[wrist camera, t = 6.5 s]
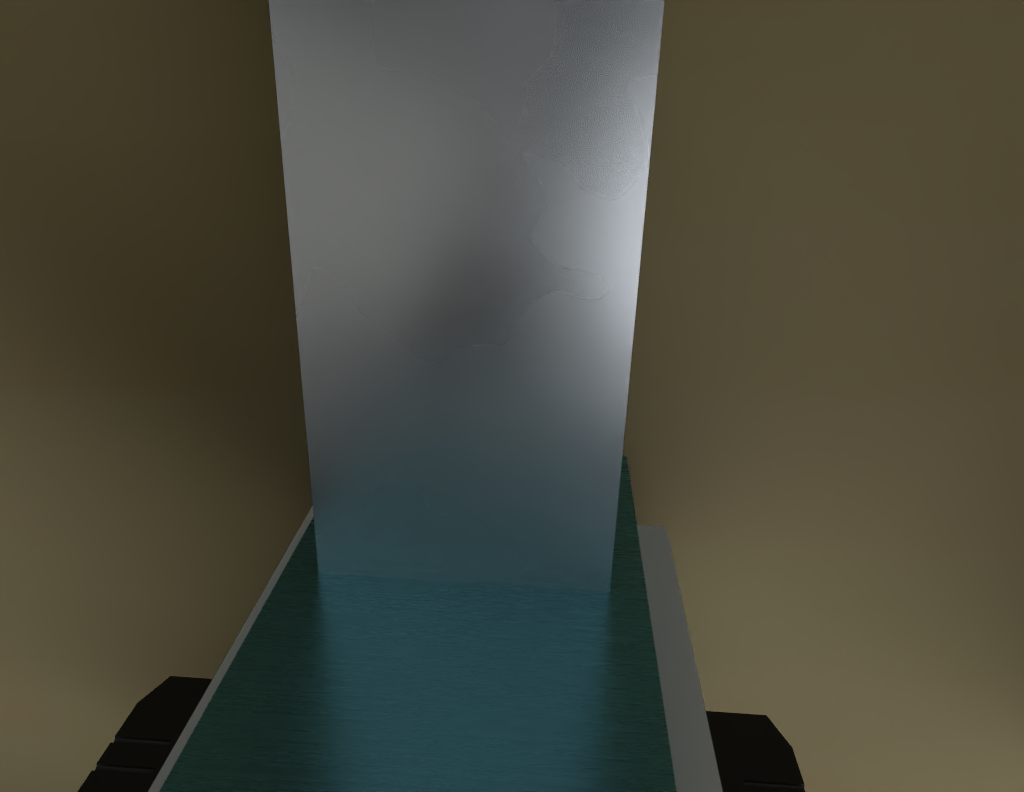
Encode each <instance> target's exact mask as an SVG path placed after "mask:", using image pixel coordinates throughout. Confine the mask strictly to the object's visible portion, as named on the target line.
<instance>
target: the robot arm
mask: <svg viewBox="0 0 1024 792" xmlns="http://www.w3.org/2000/svg"><path fill="white" fill-rule="evenodd" d="M313 516H314V515H313V506H312V507H311V509H310V511H309V513H308V514H307V516H306V518H305V520H304V521H303V523H302V525H301V527H300V528H299V530H298V532H297V533H296V535H295V537H294V539H293V540H292V542H291V544H290V546H289V547H288V549H287V551H286V553H285V554H284V556H283V558H282V560H281V561H280V563H279V565H278V566H277V568H276V570H275V572H274V573H273V575H272V577H271V579H270V580H269V582H268V584H267V586H266V587H265V589H264V591H263V593H262V594H261V596H260V598H259V600H258V601H257V603H256V605H255V606H254V608H253V610H252V612H251V613H250V615H249V617H248V619H247V620H246V622H245V624H244V626H243V627H242V629H241V631H240V633H239V634H238V636H237V638H236V640H235V641H234V643H233V645H232V646H231V648H230V650H229V652H228V653H227V655H226V657H225V659H224V660H223V662H222V664H221V666H220V667H219V669H218V671H217V673H216V674H215V676H214V678H213V679H204V678H190V677H176V676H170V677H169V678H168V679H166V680H165V681H164V682H163V683H161V684H160V685H159V686H158V687H157V688H155V689H154V690H153V691H152V692H150V693H149V694H148V695H147V696H145V697H144V698H143V699H142V700H141V701H139V702H138V703H137V704H136V706H135V707H134V709H133V710H132V712H131V713H130V715H129V716H128V718H127V719H126V721H125V722H124V724H123V725H122V727H121V728H120V730H119V731H118V733H117V734H116V736H115V741H114V743H110V744H109V746H108V747H107V749H106V750H105V752H104V753H103V755H102V756H101V758H100V759H99V761H98V762H97V767H96V769H95V771H91V773H90V774H89V776H88V777H87V779H86V780H85V782H84V783H83V785H82V786H81V788H80V789H79V791H78V792H159V791H160V789H161V787H162V786H163V784H164V782H165V780H166V778H167V777H168V775H169V773H170V771H171V770H172V768H173V766H174V764H175V762H176V761H177V759H178V757H179V755H180V754H181V752H182V750H183V748H184V746H185V745H186V743H187V741H188V739H189V737H190V736H191V734H192V732H193V730H194V729H195V727H196V725H197V723H198V721H199V720H200V718H201V716H202V714H203V713H204V711H205V709H206V707H207V705H208V704H209V702H210V700H211V698H212V696H213V695H214V693H215V691H216V689H217V688H218V686H219V684H220V682H221V680H222V679H223V677H224V675H225V673H226V672H227V670H228V668H229V666H230V664H231V663H232V661H233V659H234V657H235V655H236V654H237V652H238V650H239V648H240V647H241V645H242V643H243V641H244V639H245V638H246V636H247V634H248V632H249V631H250V629H251V627H252V625H253V623H254V622H255V620H256V618H257V616H258V614H259V613H260V611H261V609H262V607H263V606H264V604H265V602H266V600H267V598H268V597H269V595H270V593H271V591H272V590H273V588H274V586H275V584H276V582H277V581H278V579H279V577H280V575H281V573H282V572H283V570H284V568H285V566H286V565H287V563H288V561H289V559H290V557H291V556H292V554H293V552H294V550H295V549H296V547H297V545H298V543H299V541H300V540H301V538H302V536H303V534H304V532H305V531H306V529H307V527H308V525H309V524H310V522H311V520H312V518H313ZM637 530H638V537H639V544H640V551H641V557H642V564H643V571H644V577H645V584H646V591H647V597H648V604H649V611H650V617H651V624H652V631H653V637H654V644H655V651H656V657H657V664H658V671H659V678H660V684H661V691H662V698H663V704H664V711H665V718H666V724H667V731H668V738H669V744H670V751H671V758H672V764H673V771H674V778H675V784H676V791H677V792H805V790H804V782H803V779H802V776H801V773H800V770H799V767H798V764H797V761H796V758H795V755H794V752H793V748H792V747H791V746H790V744H789V743H788V742H787V741H786V739H785V738H784V737H783V736H782V734H781V733H780V732H779V731H778V729H777V728H776V727H775V726H774V724H773V723H772V722H771V721H770V719H769V718H768V717H767V716H766V715H754V714H740V713H726V712H711V711H706V710H705V706H704V701H703V696H702V691H701V687H700V682H699V677H698V673H697V668H696V663H695V658H694V654H693V649H692V644H691V640H690V635H689V630H688V625H687V621H686V616H685V611H684V607H683V602H682V597H681V592H680V588H679V583H678V578H677V574H676V569H675V564H674V559H673V555H672V550H671V545H670V541H669V536H668V531H667V527H666V526H649V525H637Z"/></svg>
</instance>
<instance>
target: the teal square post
mask: <svg viewBox="0 0 1024 792" xmlns="http://www.w3.org/2000/svg"><path fill="white" fill-rule="evenodd" d="M269 11H270V22H271V34H272V45H273V57H274V68H275V80H276V91H277V103H278V114H279V125H280V137H281V148H282V160H283V171H284V183H285V194H286V206H287V217H288V229H289V240H290V252H291V263H292V274H293V286H294V297H295V309H296V320H297V332H298V343H299V355H300V366H301V378H302V389H303V401H304V412H305V423H306V435H307V446H308V458H309V469H310V481H311V492H312V504H313V515H314V516H313V518H312V520H311V522H310V524H309V525H308V527H307V529H306V531H305V532H304V534H303V536H302V538H301V540H300V541H299V543H298V545H297V547H296V549H295V550H294V552H293V554H292V556H291V557H290V559H289V561H288V563H287V565H286V566H285V568H284V570H283V572H282V573H281V575H280V577H279V579H278V581H277V582H276V584H275V586H274V588H273V590H272V591H271V593H270V595H269V597H268V598H267V600H266V602H265V604H264V606H263V607H262V609H261V611H260V613H259V614H258V616H257V618H256V620H255V622H254V623H253V625H252V627H251V629H250V631H249V632H248V634H247V636H246V638H245V639H244V641H243V643H242V645H241V647H240V648H239V650H238V652H237V654H236V655H235V657H234V659H233V661H232V663H231V664H230V666H229V668H228V670H227V672H226V673H225V675H224V677H223V679H222V680H221V682H220V684H219V686H218V688H217V689H216V691H215V693H214V695H213V696H212V698H211V700H210V702H209V704H208V705H207V707H206V709H205V711H204V713H203V714H202V716H201V718H200V720H199V721H198V723H197V725H196V727H195V729H194V730H193V732H192V734H191V736H190V737H189V739H188V741H187V743H186V745H185V746H184V748H183V750H182V752H181V754H180V755H179V757H178V759H177V761H176V762H175V764H174V766H173V768H172V770H171V771H170V773H169V775H168V777H167V778H166V780H165V782H164V784H163V786H162V787H161V789H160V791H159V792H677V791H676V784H675V778H674V771H673V764H672V758H671V751H670V744H669V738H668V731H667V724H666V718H665V711H664V704H663V698H662V691H661V684H660V678H659V671H658V664H657V657H656V651H655V644H654V637H653V631H652V624H651V617H650V611H649V604H648V597H647V591H646V584H645V577H644V571H643V564H642V557H641V551H640V544H639V537H638V530H637V524H636V517H635V510H634V504H633V497H632V490H631V484H630V477H629V470H628V464H627V457H626V456H622V454H623V443H624V432H625V421H626V410H627V400H628V389H629V378H630V367H631V356H632V346H633V335H634V324H635V313H636V302H637V292H638V281H639V270H640V259H641V248H642V237H643V227H644V216H645V205H646V194H647V183H648V173H649V162H650V151H651V140H652V129H653V119H654V108H655V97H656V86H657V75H658V65H659V54H660V43H661V32H662V21H663V11H664V0H269Z"/></svg>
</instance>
